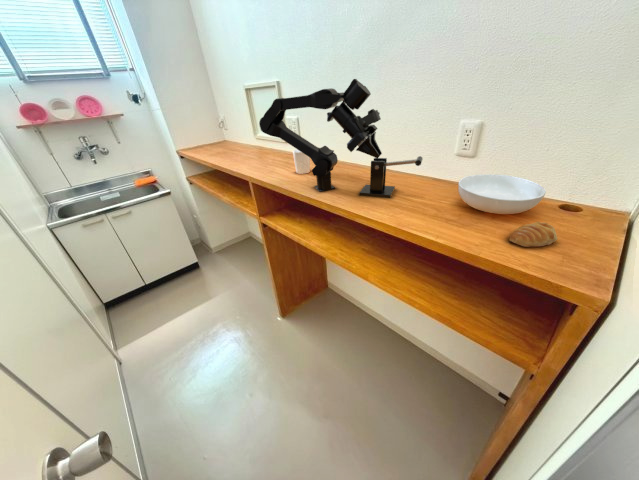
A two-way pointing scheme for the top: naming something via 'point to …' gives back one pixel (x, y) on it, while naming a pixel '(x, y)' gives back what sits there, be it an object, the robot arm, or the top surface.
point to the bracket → (377, 181)
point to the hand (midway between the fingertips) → (379, 155)
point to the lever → (405, 162)
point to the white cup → (301, 162)
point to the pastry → (534, 235)
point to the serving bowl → (500, 193)
